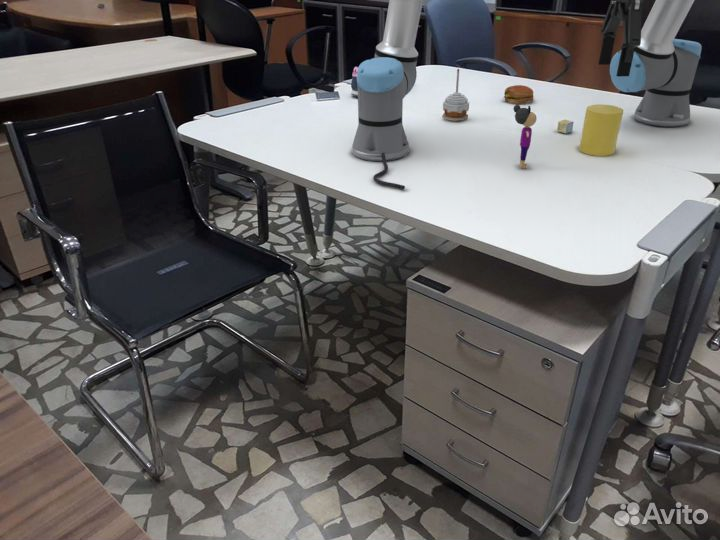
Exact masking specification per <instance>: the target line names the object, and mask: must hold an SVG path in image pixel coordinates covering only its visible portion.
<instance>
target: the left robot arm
mask: <svg viewBox="0 0 720 540" xmlns="http://www.w3.org/2000/svg"><path fill="white" fill-rule="evenodd" d="M423 4H424V0H389V1H388V7H387V13H386V19H385V25H384V32H383V36H382V37H383V38H382V41H381V42H380V43H378V44H377V45H376V46H375V51H374V57H373V58H370V59H366V60H364V61H362V62H360V64H359V65H358V66H357V67H358V72H357V86H358V97H357V111H358V113H357V115H358V118H357V119H358V125H357V128H356V131H355V135H354V138H353V141H352V144H351V147H352V155H353V156H354V157H356V158H358V159H360V160H364V161H371V162H382V164H383V169H382V170H381V171H379V172H377V173H376V174H374V175H373V178H372V179H373V181H374V182H375V183H377V184H379V185H380V186H385V187H389V188H394V189H399V190H405V189H406V185H404V184H400V183H396V182H395V183H394V182H389V181H384V180H381V179H379V177H381V176H383V175H385V174H387V172H388V169H389V165H388V163H387V162H389V161H394V160H398V159H399V160H400V159H401V158H404V157H406V156H407V155H409V151H410V150H409V149H410V145H409V141H408V137H407V134H406V132H405V128H404V125H403V124H404V123H403V108H404V107H403V106H404V105H403V104H404V102H403V101H404V98H405V97H406V96H407V95H408V94H409V93H410V92H411V91H412V89H414V88H413V87H415V84H416V81H417V76H418V75H417V74H418V72H417V63H418V57H419V52H418V51H417V49H416V47H415V45H416V39H417V36H418V35H417V34H418V29H419V23H420V19H421V14H422V10H423V9H422V8H423ZM643 6H644V0H610V4H609V5H608V8H607V12H606V14H605V17H604V19H603V23H602V24H601V28H600V33H601V34H602V41H601V47H600V48H601V49H600V53H599V56H598V57H599V58H598V65H599V66H602V65H603V66H605V65H606V66H607V65H608V66H610V64H611V60H612V57H613V50H614V45H615V40H616V37H617V30H618V29H619V26H620V24H621V23H622V35H623V43H622V44H621V45H620V48H621V49H620V51H621V55H620V60H619V65H618V70H617V75H616V76H617V77H620V76H629V74H630V69H631V64H632V60H633V55H634V50H635V48H636V47H637V46H640V44H641V30H642V18H643V17H642V16H643Z"/></svg>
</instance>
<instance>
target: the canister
mask: <svg viewBox="0 0 720 540" xmlns="http://www.w3.org/2000/svg"><path fill="white" fill-rule="evenodd" d="M623 114H624V109H623V108H622V107H619V106H616V105H612V104H599V103H598V104H591V105H588V106H586V110H585V113H584V120H583V125H582V126H583V127H582V130H581V136H580V142H579V147H578V149H579V152H581V153H583V154H586V155H590V156H594V157H607V156H612V155H613V154H615V152H616V147H617V144H618V143H617V142H618V137H619V133H620V127H621V124H622V120H623V119H622V118H623Z"/></svg>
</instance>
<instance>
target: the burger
mask: <svg viewBox="0 0 720 540" xmlns="http://www.w3.org/2000/svg"><path fill="white" fill-rule="evenodd" d="M503 98H504V100H505V101H507V103H509V104H514V105H515V104H516V105H521V104H525V103H531V102H534V90H533V89H532V88H531V87H530V86H527V85H523V84H520V85H519V84H517V85H511V86H510V85H509V86H508V87H506V88H505V89H504V96H503Z"/></svg>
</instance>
